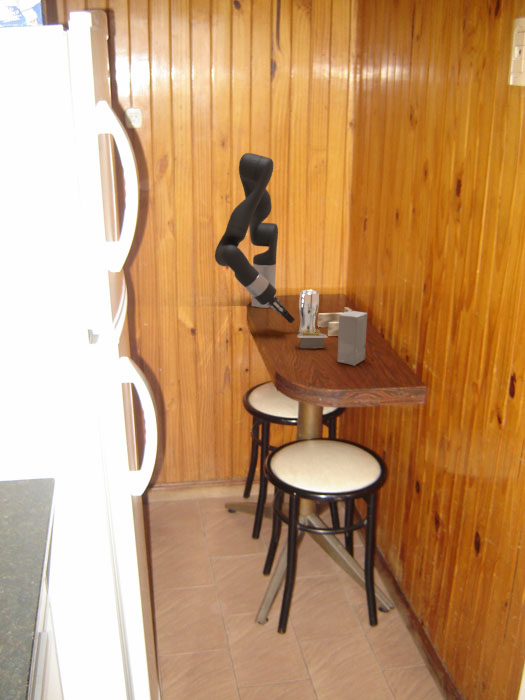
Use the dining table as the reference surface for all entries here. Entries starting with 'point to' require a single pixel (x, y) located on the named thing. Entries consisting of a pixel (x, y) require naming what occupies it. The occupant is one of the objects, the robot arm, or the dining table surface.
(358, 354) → the skincare box
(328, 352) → the dining table surface
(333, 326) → the bracket
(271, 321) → the dining table surface
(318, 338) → the platform
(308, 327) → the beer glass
